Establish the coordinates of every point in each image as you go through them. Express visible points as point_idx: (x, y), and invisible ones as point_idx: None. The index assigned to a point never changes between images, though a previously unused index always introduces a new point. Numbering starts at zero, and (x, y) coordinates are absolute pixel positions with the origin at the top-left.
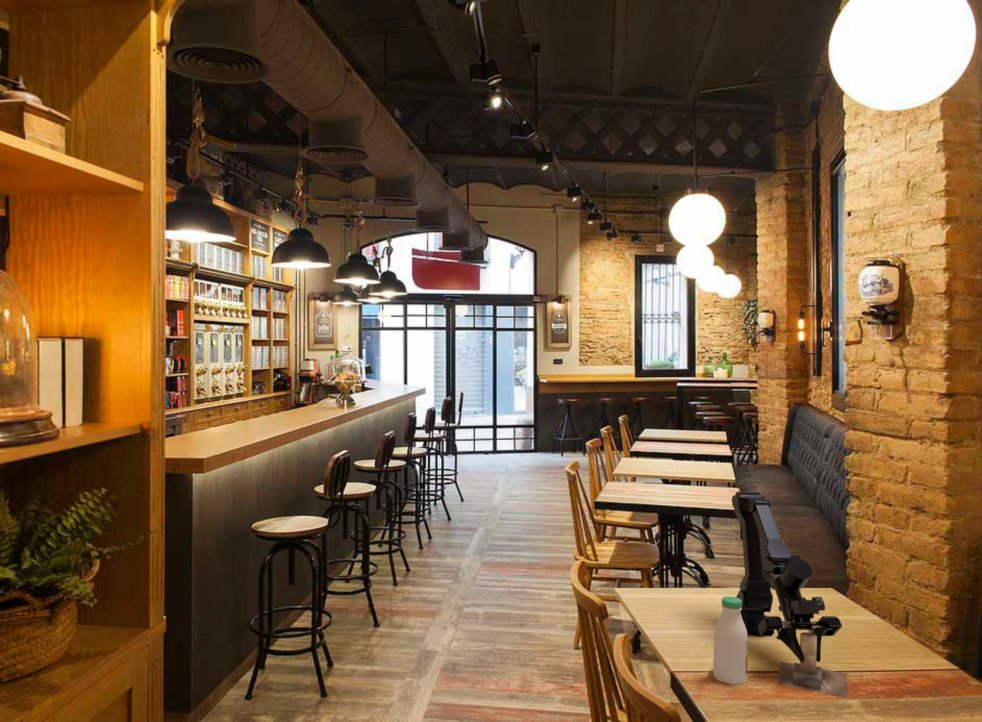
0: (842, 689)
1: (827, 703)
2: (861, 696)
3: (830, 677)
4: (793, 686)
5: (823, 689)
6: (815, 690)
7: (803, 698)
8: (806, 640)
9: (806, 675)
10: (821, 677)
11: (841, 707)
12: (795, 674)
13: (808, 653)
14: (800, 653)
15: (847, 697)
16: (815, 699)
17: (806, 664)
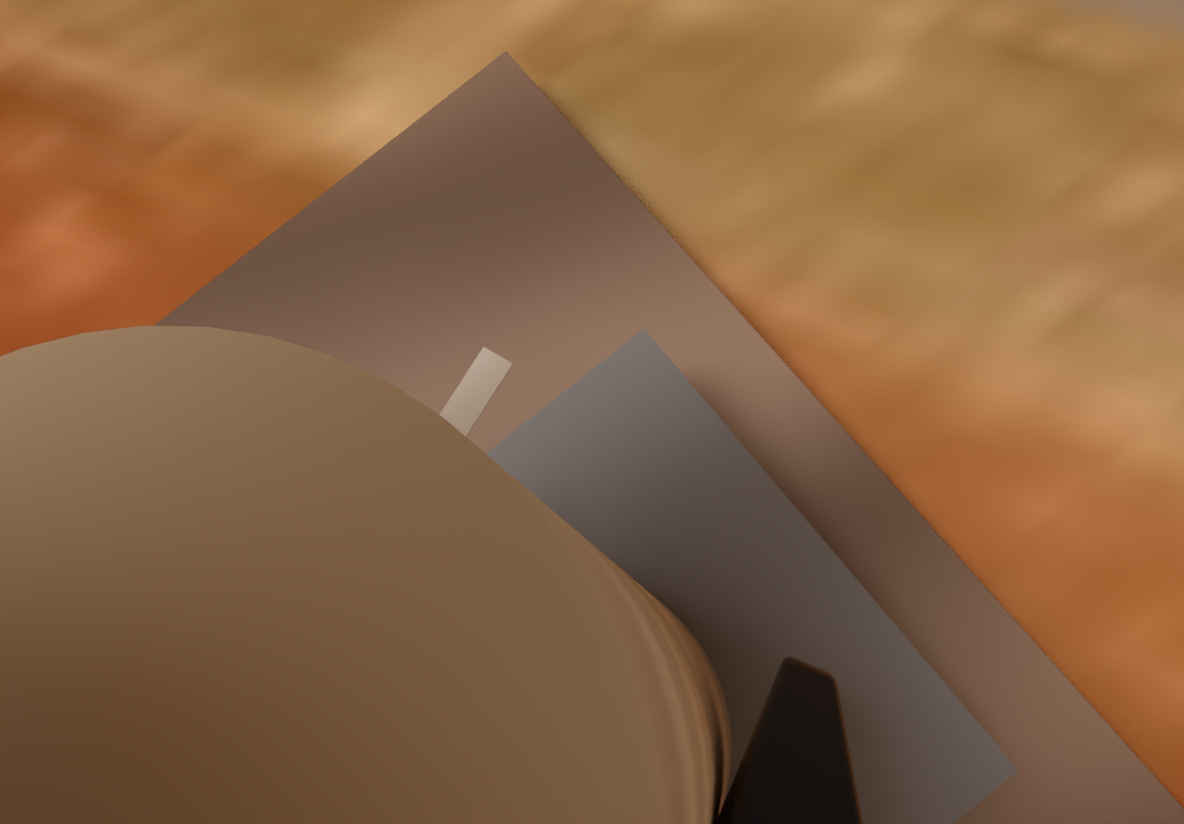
0: (325, 274)
1: (795, 199)
2: (167, 173)
3: None
4: (1024, 700)
5: None
6: (760, 420)
7: (1029, 451)
8: (630, 630)
9: (786, 584)
10: (567, 389)
11: (706, 51)
12: (982, 736)
13: (639, 587)
14: (819, 806)
15: (496, 69)
16: (864, 353)
17: (697, 649)
